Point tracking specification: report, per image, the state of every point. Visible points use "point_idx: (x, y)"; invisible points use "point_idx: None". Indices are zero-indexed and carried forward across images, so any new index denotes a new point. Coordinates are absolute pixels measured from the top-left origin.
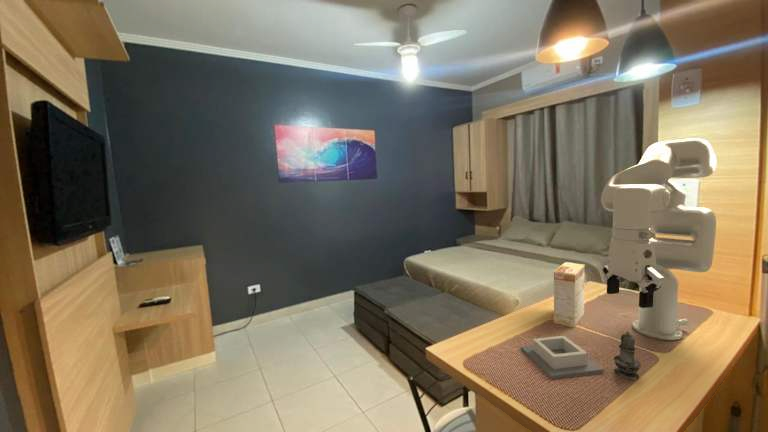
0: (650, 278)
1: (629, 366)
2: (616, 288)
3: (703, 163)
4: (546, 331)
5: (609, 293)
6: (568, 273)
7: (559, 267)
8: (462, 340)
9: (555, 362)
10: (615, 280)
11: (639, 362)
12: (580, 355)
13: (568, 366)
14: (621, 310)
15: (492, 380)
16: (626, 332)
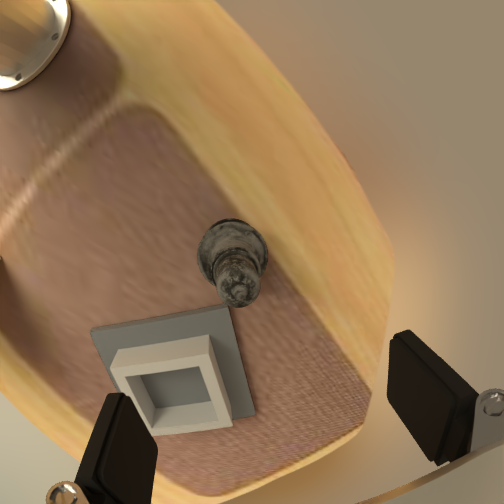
0: (492, 471)
1: (262, 268)
2: (130, 437)
3: None
4: (35, 340)
5: (156, 447)
6: None
7: None
8: None
9: (231, 413)
10: (120, 497)
11: (240, 224)
12: (214, 369)
13: (222, 379)
14: None
15: (257, 475)
16: (238, 299)
